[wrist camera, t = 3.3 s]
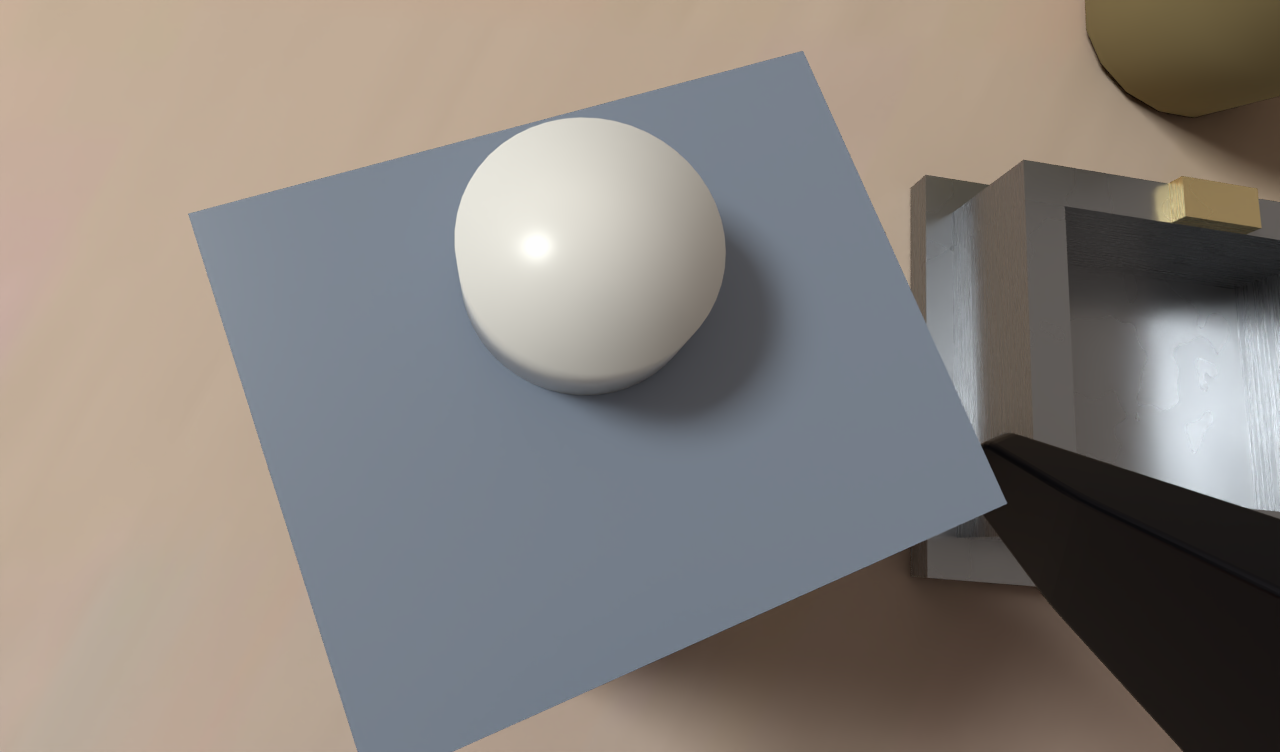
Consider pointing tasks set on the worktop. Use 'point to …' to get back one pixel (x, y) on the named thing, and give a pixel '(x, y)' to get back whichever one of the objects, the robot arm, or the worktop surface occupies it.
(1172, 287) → the pocket plate
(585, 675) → the grey tall block
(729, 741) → the worktop surface
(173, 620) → the worktop surface
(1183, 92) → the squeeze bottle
